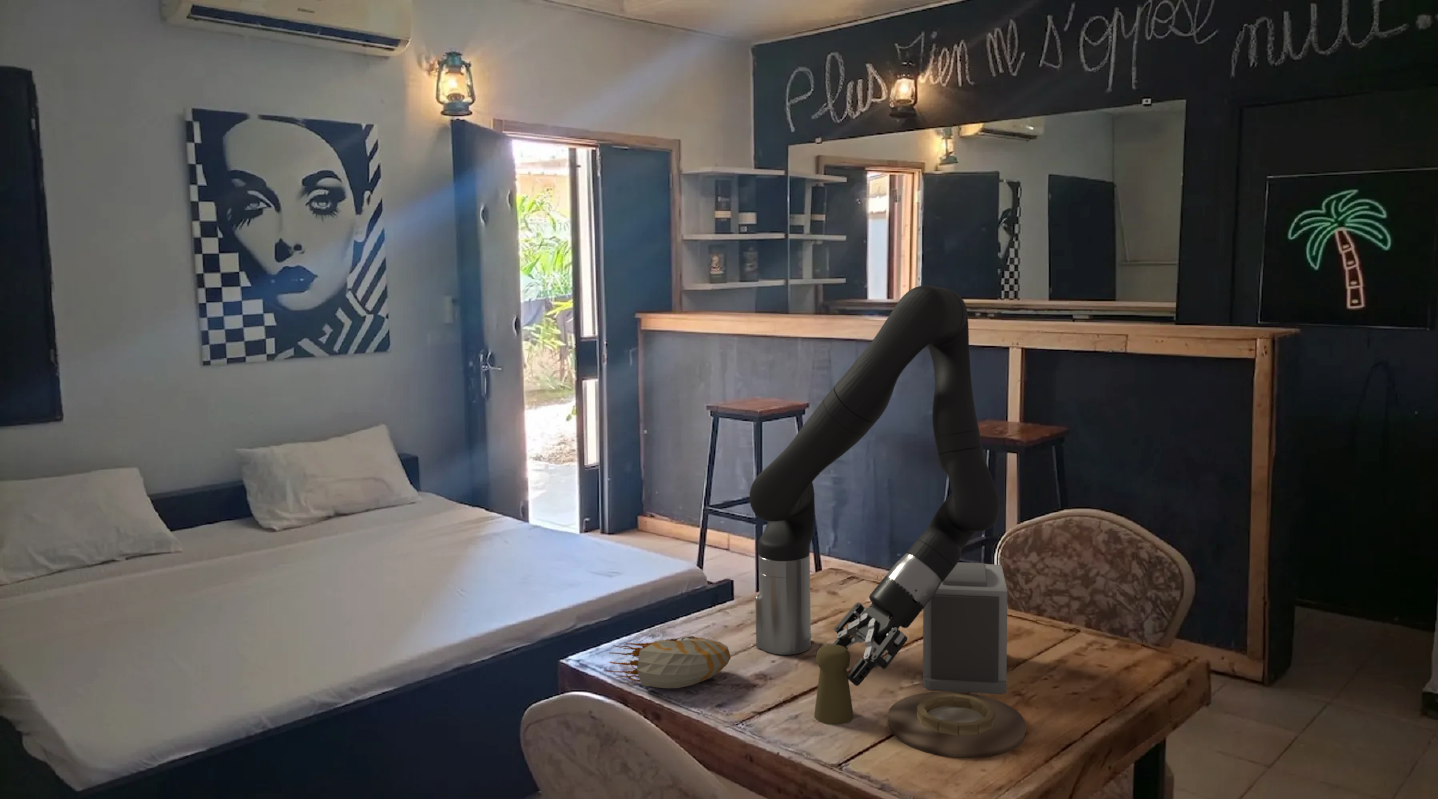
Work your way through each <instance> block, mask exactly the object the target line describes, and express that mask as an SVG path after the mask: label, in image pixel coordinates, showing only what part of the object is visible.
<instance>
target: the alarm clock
mask: <svg viewBox="0 0 1438 799" xmlns="http://www.w3.org/2000/svg"><path fill="white" fill-rule="evenodd" d="M922 621H923V622H922V623H923V624H922V662H923V663H922V680H923V681H922V687H923V688H924V689H925V690H928V691H954V692H965V693H972V694H990V695H1003V694H1006V693H1007V690H1008V688H1007V687H1008V686H1007V685H1008V682H1007V674H1008V673H1007V670H1008V669H1007V668H1008V666H1007V664H1008V661H1007V660H1008V658H1007V656H1008V655H1007V654H1008V588H1007V583H1006V579H1005V575H1004V570H1003V567H1002V564H990V563H989V564H986V563H984V562H959V561H958V563H957V564H956V566H955V567H954V568H953V570H952V571H951V572H950V573H949V575H948V576H947V577H946V578H945V580H944V581H943V582H942V583H941V585H940V586H939V588H938V590H937V591H936V593H935V594H934V596H933V597H932V598H931V600H930V601H929V602H928V603H927V605H926V606H925V607H924V608H923V610H922Z"/></svg>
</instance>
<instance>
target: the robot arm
mask: <svg viewBox="0 0 1438 799" xmlns="http://www.w3.org/2000/svg"><path fill="white" fill-rule="evenodd" d="M968 316H969V315H968V310H967V306H966V302H965V300H964V299H963V298H962V296H961V295H959V294H958V293H957V292H955V291H954V290H952V289H949V288H945V287H941V286H934V285H920V286H919V285H918V286H916V287H913V288H911V289H910V290H908V291H907V292H906V293H905V294H904V295H903V296H902V297H901V298H900V299H899V300H898V302H897V303H896V305H895V306H894V307H893V309H892V311H891V313H890V314H889V315H888V317H886V320H885V321H884V323H883V325H882V326H881V327H880V329H879V330H878V332H877V334H876V335H875V336H874V338H873V340H871V342H870V344H869V345H868V346H867V347H866V349H864V351H862V353H861V354H860V355H859V357H857V359H856V360H855V361H854V362H853V363H852V365H851V366H850V367H849V369H847V371H846V372H845V373H844V374H843V376H842V377H840V379H839V380H838V381H837V382H836V384H835V385H834V386H833V387H832V388H831V390H829V392H828V393H827V394H826V396H825V397H824V398H823V399H822V401H821V402H820V403H819V405H818V406H817V407H816V409H815V410H814V411H813V412H812V414H811V415H810V416H809V418H808V419H807V420H806V422H805V423H804V424H803V426H802V427H801V428H800V429H799V431H798V432H797V434H796V435H795V437H794V438H793V439H792V440H791V442H790V443H789V444H788V445H787V446H786V448H785V449H784V450H783V451H782V452H780V454H779V455H778V456H777V457H775V459H774V460H773V461H772V462H770V464H769V465H767V466H766V468H764V469H763V470H762V471H761V472H760V473H759V474H758V475H757V476H756V477H755V479H754V480H753V482H752V484H751V487H750V489H749V504H750V507H751V509H752V512H753V513H754V514H755V515H756V516H757V517H758V518H760V519H761V520H764V521H767V523H766V526H765V528H764V531H763V533H762V534H761V535H760V537H759V540H758V544H757V546H758V548H757V550H758V583H759V585H758V589H759V590H758V591H759V593H758V595H756V596H755V601H754V602H755V604H754V605H755V644H756V646H755V647H756V649H761V650H763V651H765V652H767V653H770V654H773V655H774V654H775V655H787V656H789V655H798V654H802V653H804V652H806V651H808V650H810V648H811V647H812V643H811V642H812V639H811V638H812V628H811V626H812V624H811V618H812V617H811V611H812V610H811V555H810V551H811V550H810V548H811V543H812V540H813V537H814V530H815V503H816V502H815V498H816V497H815V489H814V484H813V482H814V480H815V479H816V478H817V477H818V476H819V475H820V473H822V472H823V471H824V470H825V469H826V468H828V467H829V466H831V465H832V464H833V463H834V462H836V460H838V459H839V458H840V457H842V456H843V455H844V454H845V453H847V452H848V451H849V450H850V449H852V448H853V447H854V446H855V445H856V444H857V443H858V442H859V441H860V440H862V439H863V438H864V436H865V435H866V434H867V433H868V432H869V430H871V428H872V427H873V426H874V425H875V424H876V422H878V420H879V419H880V418H881V417H882V415H883V414H884V412H885V411H886V409H887V407H888V405H889V403H890V400H891V398H892V395H893V392H894V390H895V386H896V384H897V381H898V380H899V377H900V376H901V374H902V373H903V371H904V370H905V368H906V367H907V366H908V365H909V364H910V363H911V362H913V360H914V359H915V358H916V357H917V355H919V353H921V351H922V350H923V349H925V348H926V347H928V348H927V349H928V351H929V353H930V357H931V360H932V366H933V372H934V392H933V393H934V394H933V401H932V402H933V403H932V415H931V416H932V429H933V435H934V436H933V437H934V443H935V446H936V451H937V457H938V462H939V465H940V467H941V469H942V471H943V472H944V473H946V475H947V478H948V481H949V485H950V488H951V492H952V493H951V494H950V495H949V496H948V497H947V498H946V499H945V500H944V501H943V502H942V504H941V505H940V507H939V508H938V510H937V511H936V512H935V514H934V516H933V518H932V519H931V520H930V522H929V524H928V526H927V527H926V529H925V531H923V533H922V534H921V535H920V536H919V537H918V538H917V540H915V542H914V543H913V544H912V545H911V547H909V549H908V550H907V551H906V553H905V554H904V555H903V556H902V557H901V558H900V559H899V560H898V561H897V562H895V564H893V566H892V568H890V570H889V571H888V572H887V573H886V575H885V576H884V577H883V578H882V579H881V581H880V582H879V583H878V584H877V586H876V587H875V588H874V589H873V591H872V592H871V593H870V594H869V596H868V598H869V600H870V602H871V604H870V606H868V607H867V608H866V607H865V606H864V605H863V604H862V603H861V602H858V601H857V602H856V603H855V604H854V605H853V607H851V609H850V610H849V611H848V612H847V613H846V614H845V616H844V617H843V618H842V619H841V620H840V621H838V624H836V626H835V627H834V630H833V631H834V632H835V633H836V638H837V639H835V640H834V642H833V645H840V646H843V647H845V648H847V650H849V647H851V646H853V645H855V644H856V643H859V644H861V643H864V645H865V650H864V654H863V658H862V657H861V658H860V659H859V660H858V661H857V662H856V664H855V665H854V666H853V668H851V669H850V671H849V672H848V675H847V679H848V680H849V682H850V683H852V684H853V685H854V686H856V687H858V686H860V685H861V683H862V682H863V681H864V680H865V679H866V678H867V677H868V675H869V674H870V673H871V672H872V670H873V669H877V668H881V669H882V670H886V669H887V668H888V666H890V664H891V663H892V661H893V660H894V658H895V657H896V656H897V655H898V653H899V651H900V650H901V649H902V648H903V647H904V646H905V644H906V642H907V641H908V637H907V636H906V635H905V634H904V633H903V631H901V630H900V627H901V628H902V629H907V628H909V627H910V626H911V624H912V623H913V622H914V621H915V620H916V618H917V617H918V616H919V615H920V613H921V612H923V608H924V607H925V606H926V605H927V603H928V602H929V601H930V600H931V598H932V597H933V596H934V594H935V593H936V591H937V590H938V588H939V586H940V585H941V583H942V582H943V581H944V580H945V578H946V577H947V576H948V575H949V573H950V572H951V571H952V570H953V568H954V567H955V566H956V564H957V563H958V562H959V561H960V559H961V557H962V550H963V549H964V548H965V546H966V545H967V544H968V543H969V541H970V540H971V538H972V537H973V536H974V535H975V534H976V533H979V532H984V531H988V530H990V529H991V528H992V527H993V526H994V525H995V524H996V522H997V521H998V518H999V515H1000V501H999V496H998V492H997V489H996V485H995V482H994V480H993V477H992V474H991V471H990V469H989V467H988V465H987V462H986V460H985V455H984V454H985V453H984V448H983V443H982V438H981V432H980V428H979V424H978V416H977V413H976V406H975V399H974V393H973V385H972V375H971V374H972V371H971V360H970V359H971V358H970V356H971V355H970V340H969V339H970V338H969V337H970V336H969V330H970V328H969V317H968ZM846 625H847V626H846ZM845 627H846V628H845ZM886 652H887V654H886ZM883 656H885V657H883Z"/></svg>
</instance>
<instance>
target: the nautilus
mask: <svg viewBox="0 0 1438 799" xmlns="http://www.w3.org/2000/svg"><path fill="white" fill-rule="evenodd" d="M624 643H625V645H622V646H621V645H620V646H619V645H613V647H616V648H623V649H624V650H632V652H626V653H625V652H623V653H622V652H610V654H612V655H613V654H615V655H622V656H632V657H631V658H632V659H633V658H637V659H635V660H634V659H633V660H630V661H629V662H614V661H609V663H610V664H614V665H623V666H631V667H632V668H633V670H623V671H620V670H618V671H617V670H607V669H605V671H606V672H610V673H621V674H622V673H624V674H625V675H620V676H616V677H614V679H617V678H628V679H631V682H628V683H626V685H628V684H634V683H640V684H641V685H642V686H646V687H652V688H653V687H654V688H660V689H661V688H662V689H680V688H683V687H690V686H693V685H697V684H700V683H702V682H703V681H705V680H708V679H710V678H712V677H714V676H715V675H717V674H718V673H720V672H722V670H723V669H724V668H725V667H726V666H727V665H728V664H729V662H730V660H731V658H732V657H731V653H730V650H729V647H728V646H727V645H726V644H724V643H723V642H721V641H717V640H713V639H712V640H711V639H708V638H704V637H696V636H693V635H691V636H690V635H689V636H682V637H678V638H667V639H660V640H659V639H658V640H655V641H653V642H644V643H643V642H641V643H640V642H639V643H633V642H632V643H629V642H625V641H624ZM629 645H631V646H629ZM632 645H633V646H637V647H633V646H632ZM640 646H641V647H640ZM634 666H635V667H634ZM636 667H637V668H636ZM628 674H629V675H628ZM633 677H635V679H634V678H633ZM636 678H638V679H636Z"/></svg>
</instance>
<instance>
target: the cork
mask: <svg viewBox="0 0 1438 799" xmlns="http://www.w3.org/2000/svg"><path fill="white" fill-rule="evenodd" d="M847 648H848V647H847ZM847 648H845V647H843V646H840V645H833V644H826V645H823V646H821V647H820V648H818V649H817V652H816V657H815V658H816V659H815V660H816V664H817V666H818V668H819V672H818V673H819V675H818V683H817V689H816V699H815V706H814V714H813V717H814V719H815V720H816V721H818V722H820V723H822V724H825V725H835V726H837V725H844V724H849V723H850V722H851V721H852V720H854V709H853V702H852V696H851V689H850V688H851V687H850V680H848V679H847V675H848V674H849V672H848V668H849V667H850V664H851V654H850V651H849V649H847Z"/></svg>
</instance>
